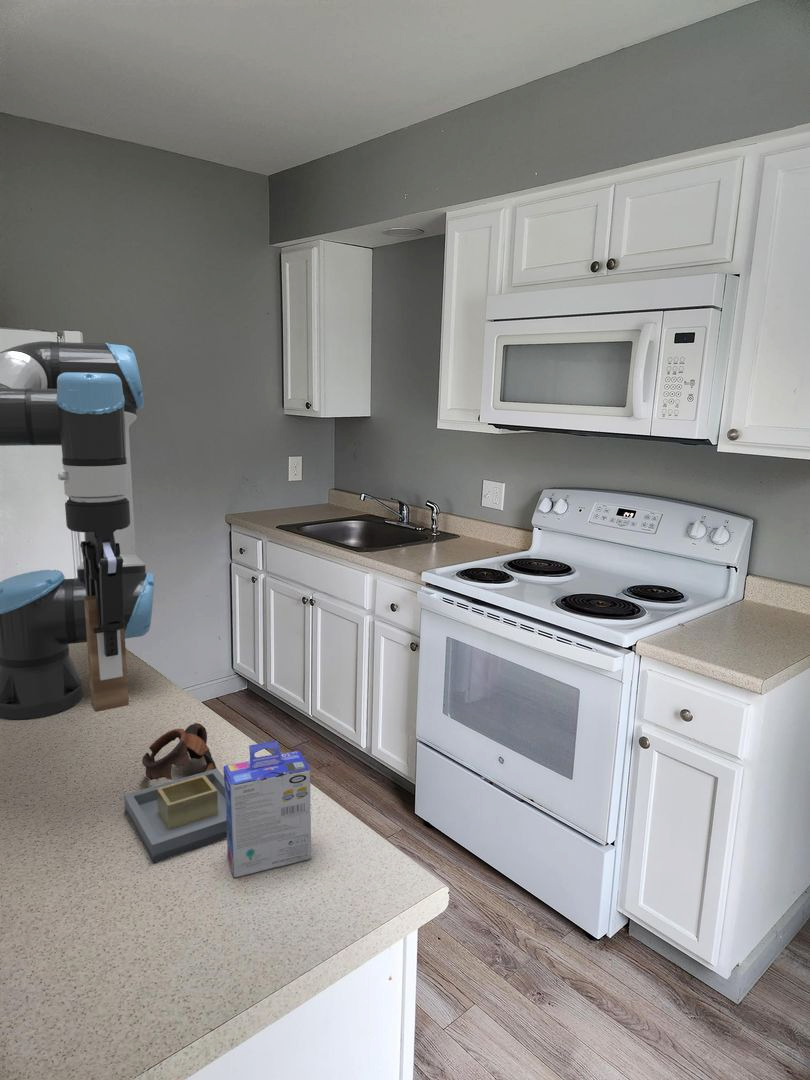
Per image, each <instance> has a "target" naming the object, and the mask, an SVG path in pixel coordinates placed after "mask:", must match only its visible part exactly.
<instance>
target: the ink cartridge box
mask: <svg viewBox="0 0 810 1080" xmlns="http://www.w3.org/2000/svg"><path fill="white" fill-rule="evenodd" d="M264 749H266V750H274V753H273V754H270V755H269V754H268V755H262V756H255V754H256V753H258V752H259V751H262V750H264ZM248 750H249V760H246V761H243V762H242V761H241V762H237V763H231V764H227V765H226V764H225V765H224V766H223V776H224V783H225V801H226V822H227V838H226V841H227V842H226V843H227V846H226V848H227V849H226V851H227V854H226V855H227V861H228V865H229V868H230V873H231V875H232V877H233V878H239V877H243V876H246V875H251V874H254V873H259V872H263V871H266V870H270V869H274V868H278V867H282V866H286V865H291V864H294V863H299V862H302V861H307V860H310V859H311V858H312V827H311V826H312V819H311V817H312V813H311V767H310V766H309V764H308V762H307V761H306V759H305V757H304V756H303V754H302V752H301V750H295V751H290V752H286V753H282V754H281V751H280V750H281V749H280V747H279V740H275V741H268V742H263V743H256V744H250V745H248Z"/></svg>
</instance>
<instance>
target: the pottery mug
mask: <svg viewBox="0 0 810 1080" xmlns="http://www.w3.org/2000/svg"><path fill="white" fill-rule="evenodd" d="M176 739H178V740H179V741H178V742H177V744H176V746H175V747H173V749H172V750H171V751H170V752H169V753H168V754H166V755H165V756H163V757H162V758H160V759H158V760H155V757H156V756H157V755H158V753H160V751H161V750H162V749H163V748H164V747H166V746H167V745H168V744H170V743H171V742H174V741H175V740H176ZM207 743H208V734H207V730H206V727H204V725H203V724H201V723H198V722H195V723H193V724H192V723H191V724H190V725H189V726H187V727H186V728H185V729H183V728H174V729H171V730H169V731H166V732H165V733H163V734H161V736H159V737H158V738H157V739H156V740H155V741H154V742H152V743H151V745H150V746H149V747H148V748H149V750H150V751H151V754H149V752H146V753H145V754H144V755H143V757H142V759H141V762H142V765H143V767H145V776H146V779H149V780H150V781H151V780H152V781H153V780H158V779H161V778H165V779H167V780H171V781H172V779H173V778H172V765H173V766H175V767H184V768H186V767H190V766H191V765H193V762H192V761H191V760H194V759H195V760H201V759H202V758H203V759H204V761H205V765H206V767H207V768H206V770H205V771H204V772H206V771H209V770H213V769H216V768H217V769H218V767H217V765H216V762H215V760H214V759H213V757H212V753H211V751H210V749H209V747H208V745H207Z"/></svg>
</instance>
